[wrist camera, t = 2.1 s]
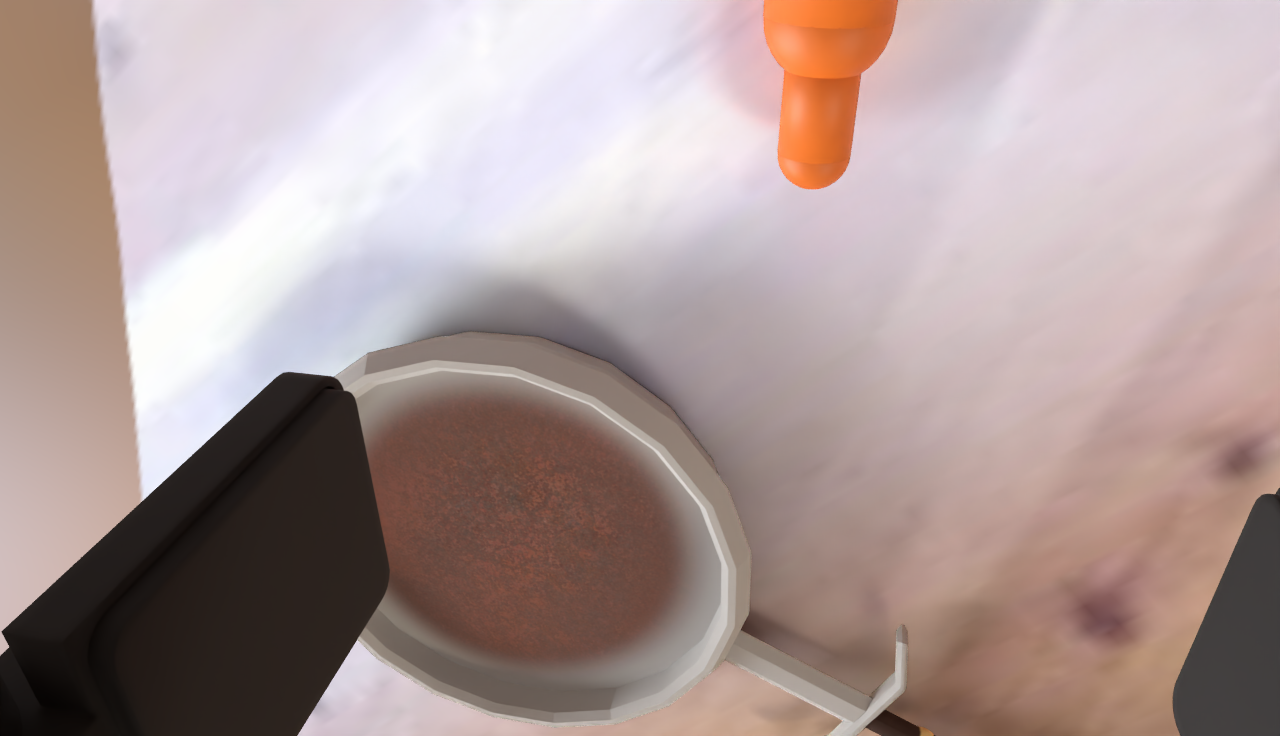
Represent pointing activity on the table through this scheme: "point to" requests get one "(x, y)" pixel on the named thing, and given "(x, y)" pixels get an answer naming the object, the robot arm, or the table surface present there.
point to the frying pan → (561, 541)
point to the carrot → (822, 78)
